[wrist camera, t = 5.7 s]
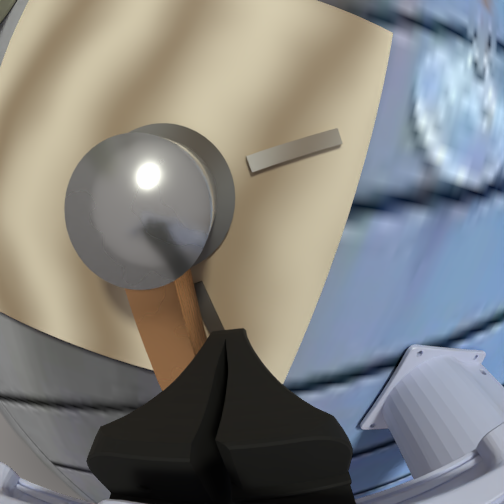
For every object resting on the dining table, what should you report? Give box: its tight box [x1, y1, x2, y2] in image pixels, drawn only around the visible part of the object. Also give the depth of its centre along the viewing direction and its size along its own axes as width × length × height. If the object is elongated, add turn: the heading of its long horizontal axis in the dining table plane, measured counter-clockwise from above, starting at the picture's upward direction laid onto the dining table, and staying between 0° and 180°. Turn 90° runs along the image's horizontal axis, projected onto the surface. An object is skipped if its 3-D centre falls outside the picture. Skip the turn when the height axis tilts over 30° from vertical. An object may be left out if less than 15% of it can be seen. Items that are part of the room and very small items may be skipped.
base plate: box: [0, 0, 393, 384], centre depth 12 cm, size 20×20×2 cm
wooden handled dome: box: [64, 132, 218, 391], centre depth 11 cm, size 11×5×3 cm, turn 8°
